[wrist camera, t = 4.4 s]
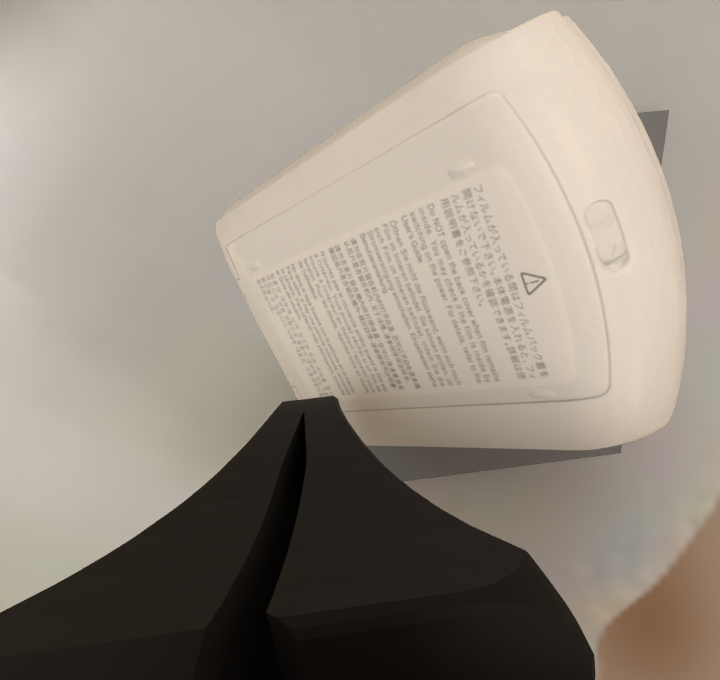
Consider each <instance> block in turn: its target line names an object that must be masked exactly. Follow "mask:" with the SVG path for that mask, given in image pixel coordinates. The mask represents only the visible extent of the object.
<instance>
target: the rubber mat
mask: <svg viewBox="0 0 720 680" xmlns="http://www.w3.org/2000/svg"><path fill="white" fill-rule="evenodd" d="M637 114H638V116H639V118H640V120H641V121H642V124H643V126H644V128H645V130H646V132H647V134H648V137H649V139H650V141H651V143H652V146H653V148H654V150H655V153H656V155H657V158H658V160H659V163H660V165H661V163H662V156H663V149H664V142H665V135H666V128H667V121H668V114H669V110H664V111H654V112H644V113H637ZM621 446H622V444H621V445H617V446H612V447H607V448H601V449H595V450H542V449H503V448H462V447H421V446H367V447H368V448H369V449H370V451H371V452H372V453H373V454H374V455H375V456H376V457H377V458H378V459H379V460H380V461H381V462H382V463H383V464H384V465H385V466H386V467H387V468H388V469H389V470H390V471H391V472H392V473H393V474H394V475H395V476H397V477H398V478H399V479H400V480H401V481H408V480H416V479H424V478H432V477H439V476H447V475H455V474H462V473H470V472H478V471H486V470H493V469H501V468H509V467H516V466H524V465H532V464H540V463H547V462H555V461H563V460H570V459H578V458H586V457H594V456H601V455H609V454H617V453H621Z"/></svg>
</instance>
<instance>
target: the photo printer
mask: <svg viewBox="0 0 720 680" xmlns="http://www.w3.org/2000/svg"><path fill="white" fill-rule="evenodd" d="M216 233H217V237H218V240H219V242H220V245H221V248H222V251H223V253H224V256H225V258H226V261H227V263H228V265H229V267H230V269H231V271H232V274H233V276H234V278H235V279H236V281H237V283H238V286H239V287H240V289H241V291H242V293H243V296H244V298H245V300H246V302H247V303H248V305H249V307H250V309H251V311H252V313H253V315H254V317H255V319H256V321H257V323H258V325H259V327H260V329H261V331H262V332H263V334H264V336H265V338H266V340H267V342H268V344H269V346H270V348H271V350H272V351H273V353H274V355H275V357H276V359H277V361H278V363H279V364H280V366H281V368H282V370H283V372H284V374H285V376H286V378H287V380H288V382H289V383H290V385H291V387H292V389H293V392H294V393H295V395H296V397H297V398H298V400H302V399H310V398H318V397H326V396H335V397H336V398H337V399H339V404H340V407H341V409H342V411H343V413H344V415H345V417H346V419H347V420H348V422H349V423H350V425H351V426H352V428H353V429H354V430H355V432H356V433H357V435H358V436H359V437H360V439H361V440H362V441H363V442H364V444H365V445H366V446H421V447H462V448H503V449H542V450H595V449H601V448H607V447H612V446H617V445H621V444H625V443H629V442H633V441H635V440H638V439H640V438H643V437H645V436H647V435H650V434H652V433H654V432H655V431H657V430H659V429H660V428H662V427H664V426H665V425H666V424H667V423H668V422H669V420H670V419H671V417H672V414H673V411H674V408H675V404H676V401H677V397H678V393H679V389H680V384H681V379H682V372H683V364H684V356H685V345H686V308H687V298H686V276H685V268H684V260H683V253H682V246H681V239H680V234H679V229H678V223H677V219H676V215H675V212H674V208H673V204H672V200H671V196H670V193H669V190H668V186H667V183H666V180H665V177H664V174H663V171H662V168H661V165H660V163H659V160H658V158H657V155H656V153H655V150H654V148H653V146H652V143H651V141H650V139H649V137H648V134H647V132H646V130H645V128H644V126H643V124H642V121H641V120H640V118H639V116H638V114H637V112H636V111H635V109H634V107H633V105H632V103H631V102H630V100H629V98H628V96H627V94H626V93H625V91H624V89H623V88H622V86H621V85H620V83H619V81H618V80H617V78H616V77H615V75H614V73H613V72H612V70H611V69H610V67H609V66H608V65H607V63H606V62H605V61H604V59H603V58H602V57H601V55H600V54H599V53H598V51H597V50H596V49H595V47H594V46H593V45H592V43H591V42H590V41H589V40H588V39H587V37H586V36H585V35H584V34H583V33H582V31H581V30H580V29H579V28H578V27H577V26H576V24H575V23H574V22H573V21H572V20H571V19H570V18H569V16H564V17H562V16H561V14H560V13H559V12H558V11H550V12H547V13H544V14H542V15H540V16H538V17H535V18H533V19H531V20H529V21H527V22H525V23H523V24H521V25H519V26H517V27H515V28H513V29H511V30H509V31H503V32H499V33H494V34H490V35H487V36H484V37H481V38H478V39H475V40H473V41H471V42H469V43H467V44H465V45H463V46H461V47H459V48H458V49H456V50H455V51H453V52H452V53H450V54H449V55H447V56H446V57H444V58H443V59H441V60H440V61H438V62H437V63H436V64H434V65H433V66H431V67H430V68H428V69H427V70H425V71H424V72H422V73H421V74H420V75H418V76H417V77H415V78H414V79H412V80H411V81H409V82H408V83H407V84H405V85H404V86H402V87H401V88H399V89H398V90H396V91H395V92H394V93H392V94H391V95H389V96H388V97H386V98H385V99H383V100H382V101H381V102H379V103H378V104H376V105H375V106H373V107H372V108H370V109H369V110H368V111H366V112H365V113H363V114H362V115H360V116H359V117H357V118H356V119H355V120H353V121H352V122H350V123H349V124H347V125H346V126H344V127H343V128H342V129H340V130H339V131H337V132H336V133H334V134H333V135H331V136H330V137H328V138H327V139H326V140H324V141H323V142H321V143H320V144H318V145H317V146H315V147H314V148H313V149H311V150H310V151H308V152H307V153H305V154H304V155H302V156H301V157H300V158H298V159H297V160H295V161H294V162H292V163H291V164H290V165H288V166H287V167H285V168H284V169H282V170H281V171H280V172H278V173H277V174H275V175H274V176H272V177H271V178H269V179H268V180H267V181H265V182H264V183H262V184H261V185H259V186H258V187H256V188H255V189H254V190H252V191H251V192H249V193H248V194H246V195H245V196H244V197H242V198H241V199H239V200H238V201H237V202H235V203H234V204H233V205H231V206H230V207H229V209H228V210H227V211H226V212H225V214H224V216H223V218H221V219H220V220H219V221H218V222H217V223H216Z"/></svg>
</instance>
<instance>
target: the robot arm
mask: <svg viewBox="0 0 720 680" xmlns="http://www.w3.org/2000/svg"><path fill="white" fill-rule="evenodd" d="M0 680H595V661H594V654H593V652H592V650H591V648H590V646H589V644H588V642H587V640H586V638H585V636H584V634H583V632H582V630H581V628H580V626H579V624H578V622H577V621H576V619H575V617H574V616H573V614H572V613H571V611H570V609H569V608H568V606H567V605H566V603H565V602H564V600H563V599H562V597H561V596H560V595H559V593H558V592H557V591H556V589H555V588H554V586H553V585H552V584H551V582H550V581H549V580H548V578H547V577H546V576H545V574H544V573H543V572H542V570H541V569H540V568H539V566H538V565H537V564H536V562H535V561H534V560H533V559H532V557H531V556H530V555H529V554H528V552H526V551H525V550H523V549H521V548H519V547H516V546H514V545H512V544H510V543H508V542H505V541H503V540H501V539H499V538H496V537H494V536H492V535H490V534H488V533H485V532H483V531H481V530H479V529H476V528H474V527H472V526H470V525H468V524H466V523H465V522H463V521H461V520H459V519H458V518H456V517H454V516H452V515H450V514H449V513H447V512H445V511H443V510H442V509H440V508H438V507H437V506H435V505H434V504H433V503H431V502H430V501H428V500H427V499H425V498H424V497H422V496H421V495H419V494H418V493H416V492H415V491H414V490H412V489H411V488H410V487H409V486H407V485H406V484H405V483H404V482H402V481H401V480H400V479H399V478H398V477H397V476H395V475H394V474H393V473H392V472H391V471H390V470H389V469H388V468H387V467H386V466H385V465H384V464H383V463H382V462H381V461H380V460H379V459H378V458H377V457H376V456H375V455H374V454H373V453H372V452H371V451H370V449H369V448H368V447H367V446H366V445H365V444H364V442H363V441H362V440H361V439H360V437H359V436H358V435H357V433H356V432H355V430H354V429H353V428H352V426H351V425H350V423H349V422H348V420H347V419H346V417H345V415H344V413H343V411H342V409H341V407H340V404H339V399H337V398H336V397H335V396H326V397H318V398H310V399H302V400H294V401H286V402H282V403H281V404H280V405H279V407H278V408H277V409H276V410H275V411H274V412H273V414H272V415H271V416H270V417H269V418H268V420H267V421H266V422H265V423H264V424H263V426H262V427H261V428H260V429H259V430H258V431H257V433H256V434H255V435H254V436H253V437H252V438H251V439H250V441H249V442H248V443H247V444H246V445H245V446H244V447H243V448H242V449H241V450H240V451H239V452H238V453H237V454H236V455H235V456H234V457H233V458H232V459H231V460H230V461H229V462H228V463H227V464H226V465H225V466H224V467H223V468H222V469H221V470H220V471H219V472H218V473H217V474H216V475H215V476H214V477H213V478H212V479H211V480H209V481H208V482H207V483H206V484H205V485H204V486H203V487H201V488H200V489H199V490H198V491H196V492H195V493H194V494H193V495H192V496H190V497H189V498H188V499H187V500H185V501H184V502H183V503H182V504H180V505H179V506H178V507H176V508H175V509H174V510H172V511H171V512H169V513H168V514H167V515H165V516H164V517H162V518H161V519H160V520H158V521H157V522H155V523H154V524H152V525H151V526H150V527H148V528H147V529H145V530H144V531H143V532H141V533H140V534H138V535H137V536H135V537H134V538H132V539H131V540H129V541H128V542H126V543H125V544H123V545H121V546H120V547H118V548H117V549H115V550H113V551H112V552H110V553H109V554H107V555H105V556H104V557H102V558H100V559H99V560H97V561H95V562H94V563H92V564H90V565H89V566H87V567H85V568H83V569H82V570H80V571H78V572H77V573H75V574H73V575H71V576H70V577H68V578H66V579H64V580H62V581H61V582H59V583H57V584H55V585H53V586H51V587H49V588H47V589H46V590H44V591H42V592H40V593H38V594H36V595H34V596H32V597H30V598H28V599H26V600H24V601H22V602H20V603H18V604H16V605H14V606H13V607H11V608H9V609H7V610H5V611H3V612H1V613H0Z"/></svg>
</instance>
